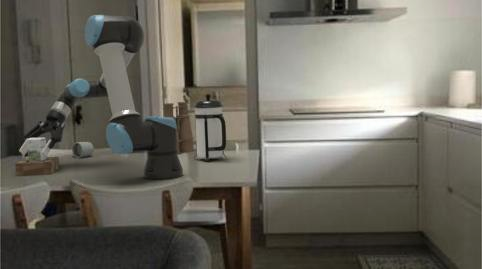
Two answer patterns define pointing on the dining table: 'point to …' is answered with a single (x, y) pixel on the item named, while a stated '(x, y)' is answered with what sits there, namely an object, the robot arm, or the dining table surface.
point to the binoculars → (181, 126)
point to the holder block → (37, 167)
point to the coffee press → (209, 129)
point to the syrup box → (36, 149)
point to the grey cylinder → (82, 149)
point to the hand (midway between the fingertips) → (32, 153)
